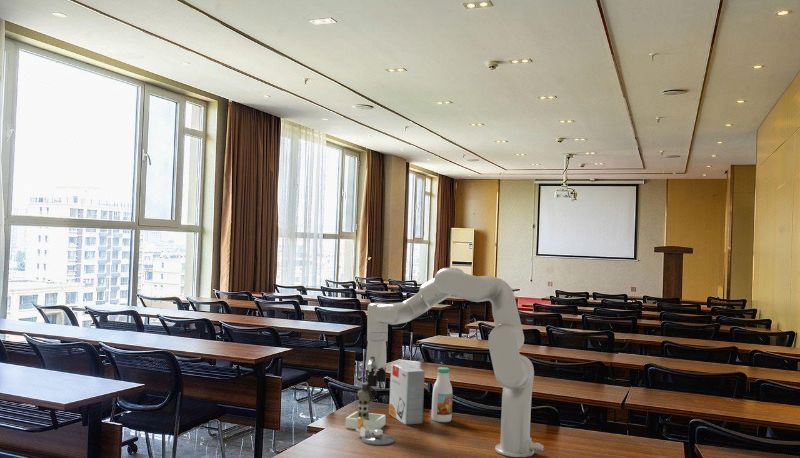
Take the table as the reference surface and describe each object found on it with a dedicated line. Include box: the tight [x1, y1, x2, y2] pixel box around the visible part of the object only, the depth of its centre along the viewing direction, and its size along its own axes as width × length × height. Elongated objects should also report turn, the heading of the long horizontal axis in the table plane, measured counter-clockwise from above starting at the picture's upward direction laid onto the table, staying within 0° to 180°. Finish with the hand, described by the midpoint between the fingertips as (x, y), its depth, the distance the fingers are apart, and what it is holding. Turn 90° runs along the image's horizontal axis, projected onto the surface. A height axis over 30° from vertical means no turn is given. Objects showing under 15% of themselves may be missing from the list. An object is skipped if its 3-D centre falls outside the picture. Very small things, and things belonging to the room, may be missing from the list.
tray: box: [344, 411, 387, 430], centre depth 243 cm, size 12×11×4 cm
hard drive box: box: [388, 363, 426, 426], centre depth 256 cm, size 16×8×20 cm, turn 25°
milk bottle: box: [431, 366, 453, 423], centre depth 257 cm, size 8×8×20 cm
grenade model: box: [357, 382, 378, 420], centre depth 243 cm, size 6×7×15 cm
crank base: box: [359, 426, 395, 446], centre depth 225 cm, size 12×11×4 cm
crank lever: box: [355, 417, 384, 438], centre depth 227 cm, size 10×3×5 cm, turn 58°
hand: (376, 383), depth 243 cm, fingers open, 9 cm apart
